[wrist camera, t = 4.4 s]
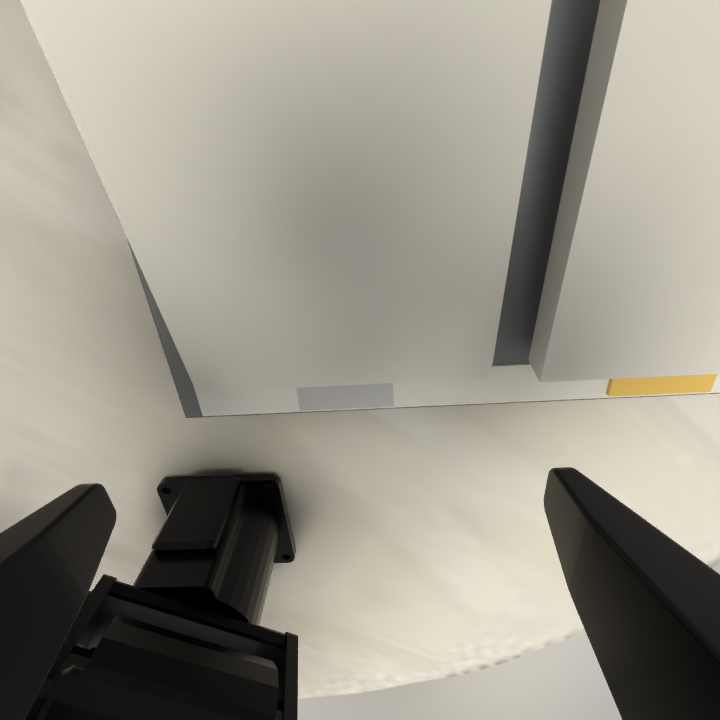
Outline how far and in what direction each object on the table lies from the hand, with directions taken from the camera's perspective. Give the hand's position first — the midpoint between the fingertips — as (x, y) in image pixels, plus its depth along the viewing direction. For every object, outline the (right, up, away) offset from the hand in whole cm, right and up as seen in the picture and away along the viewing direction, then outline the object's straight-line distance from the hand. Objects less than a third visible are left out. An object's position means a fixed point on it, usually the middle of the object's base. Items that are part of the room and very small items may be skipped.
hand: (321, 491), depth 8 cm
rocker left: (0, +7, +2) cm, 7 cm away
